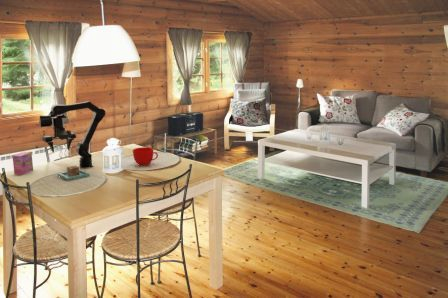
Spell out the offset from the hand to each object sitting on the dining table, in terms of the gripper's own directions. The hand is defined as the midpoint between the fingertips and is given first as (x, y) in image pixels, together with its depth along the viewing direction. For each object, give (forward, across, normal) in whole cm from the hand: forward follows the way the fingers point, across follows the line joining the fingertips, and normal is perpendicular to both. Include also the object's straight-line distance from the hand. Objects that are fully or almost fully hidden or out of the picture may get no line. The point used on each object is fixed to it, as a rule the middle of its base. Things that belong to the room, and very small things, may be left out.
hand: (60, 151), depth 258 cm
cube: (+11, -1, -18) cm, 21 cm away
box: (+12, -19, +11) cm, 25 cm away
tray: (+12, -1, -18) cm, 22 cm away
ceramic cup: (+12, +44, -26) cm, 52 cm away
